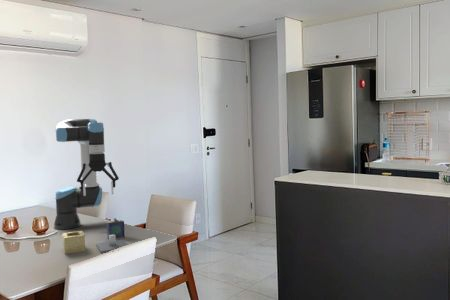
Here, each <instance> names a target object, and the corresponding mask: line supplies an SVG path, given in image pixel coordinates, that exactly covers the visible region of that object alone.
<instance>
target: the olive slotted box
mask: <svg viewBox="0 0 450 300" xmlns="http://www.w3.org/2000/svg"><path fill="white" fill-rule="evenodd" d="M85 236H86V235H85V233H84V231H83V230H75V231H68V232H63V233H61V237H62V240H61V241H62V250H63V253H64V255H68V254H74V253H75V254H76V253H81V252H86V237H85Z"/></svg>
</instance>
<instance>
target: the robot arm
mask: <svg viewBox="0 0 450 300" xmlns="http://www.w3.org/2000/svg"><path fill="white" fill-rule="evenodd" d="M55 139H56V141H57V143H58V142H60V143H61V142H62V143H65V142H66V143H67V142H68V143H69V142H77V143H78V144H79V145H80V167H81V168H80V169H81V171H80V173H79V175H78V177H77V179H76V182H77V183H80V185H79V188H76V186H67V187H64V188H59V189H57V190H56V192H55V206H56V207H55V209H56V210H55V211H56V216H55V220H54V222H53V228H54V229H55V228H56V229H55V230H71V229H75V228H78V227H80V226H81V220H80V216H79V214H78V209H85V208H91V207H92V208H95V207H98V206H100V205H101V203H102V201H103V200H102V198H103V188H102V187H101V186H100V184H99V182H97V180H98V179H97V172H103V173H105V175H107V177H108V179H109V178H110V179H111V181H110V182H111V183H110V185H111V186H110V187H111V188H110V189H111V195H114V188H116V181H119V179H120V178H119V177H120V176H118V174H117V172H116V171H115V169H114V167H113V165H112V164H113V163H112V162H111V161H109V162H106V156H105V128H104V123H103V122H98V121H97V120H96V119H94V118H93V119H92V118H82V119H81V118H78V119H75V118H74V119H71V118H70V119H65V120H63V121H60V122H59V123H57V125H56V127H55ZM106 166H107V167H109V169H110V171H111V172H112V174H111V173H110V172H109V171H108V170H107V169H106V168H105V167H106Z"/></svg>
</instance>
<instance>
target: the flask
mask: <svg viewBox="0 0 450 300" xmlns="http://www.w3.org/2000/svg"><path fill="white" fill-rule="evenodd" d="M109 235H116V239H121V238H122V239H123V238H125V221H124V220H120V219H119V220H118V219H117V218H116V217H114V218H113V221H107V222H106V236H107V237H106V238H107V240H109Z"/></svg>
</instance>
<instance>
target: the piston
mask: <svg viewBox="0 0 450 300" xmlns="http://www.w3.org/2000/svg"><path fill="white" fill-rule="evenodd" d="M95 245H96V247H97V249H98V251H99V252H100V254H104V253H105V252H106V253H109V252H108V251H111V250H114V249H117V248H119V247H122V246H125V245H129V244H128V243H127V242H126V241H125V240H124V239H118V240H117V238H116V235H109V239H108V241H104V242H98V243H95Z"/></svg>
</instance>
